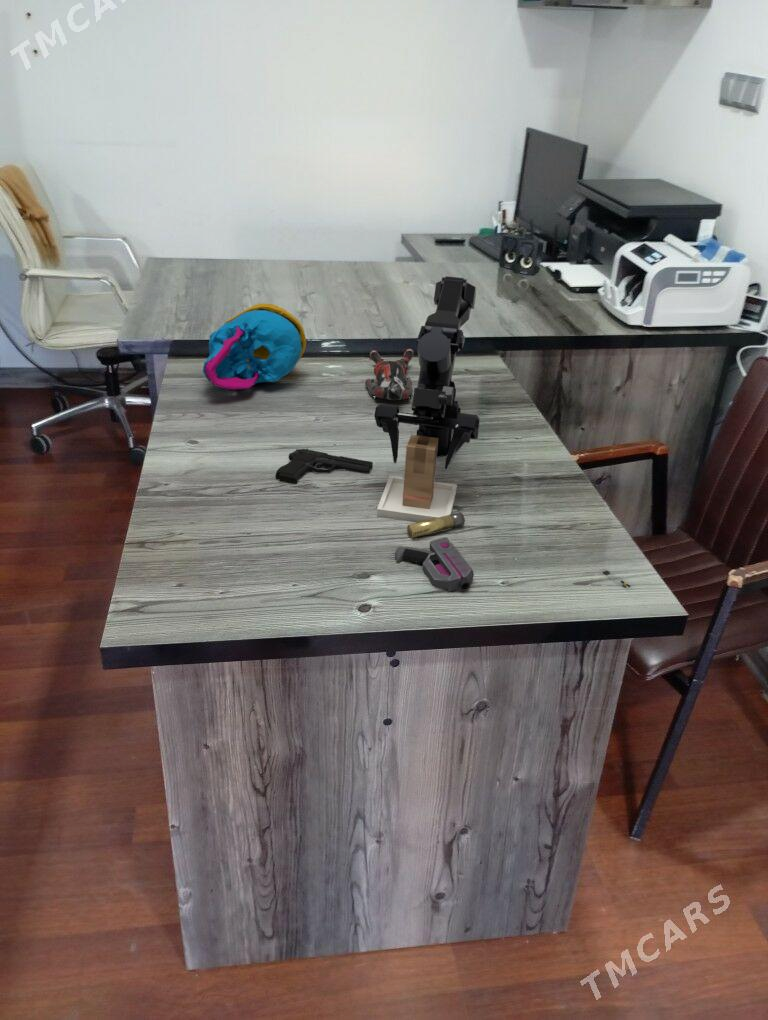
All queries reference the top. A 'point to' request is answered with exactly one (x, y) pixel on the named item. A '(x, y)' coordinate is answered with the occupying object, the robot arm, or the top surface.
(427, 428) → the robot arm
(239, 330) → the anatomical model
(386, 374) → the action figure
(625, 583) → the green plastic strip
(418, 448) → the brown tall hollow block
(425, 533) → the bullet cartridge
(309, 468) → the handgun
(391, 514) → the tray
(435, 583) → the toy gun
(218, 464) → the top surface
